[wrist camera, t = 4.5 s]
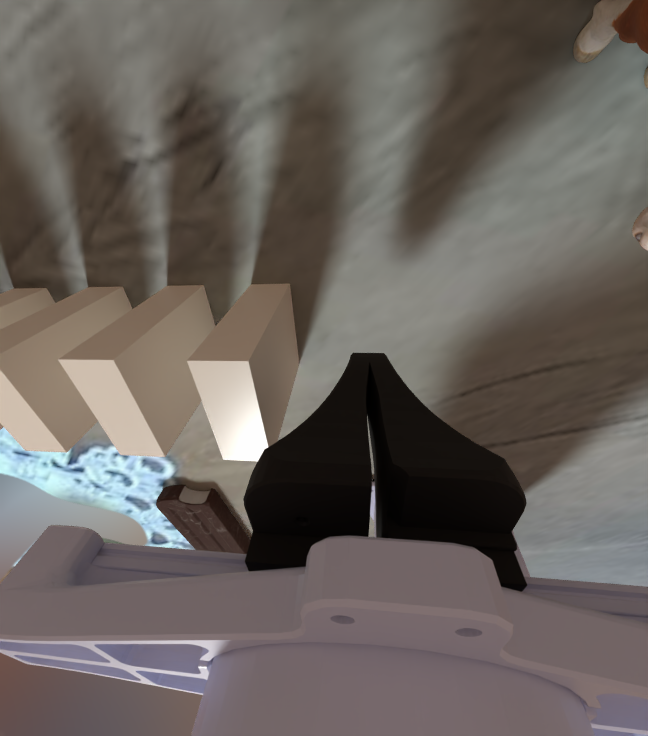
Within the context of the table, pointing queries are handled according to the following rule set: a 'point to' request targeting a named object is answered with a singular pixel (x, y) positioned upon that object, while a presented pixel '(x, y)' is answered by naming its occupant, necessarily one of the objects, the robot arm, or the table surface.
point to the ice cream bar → (203, 519)
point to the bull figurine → (610, 16)
